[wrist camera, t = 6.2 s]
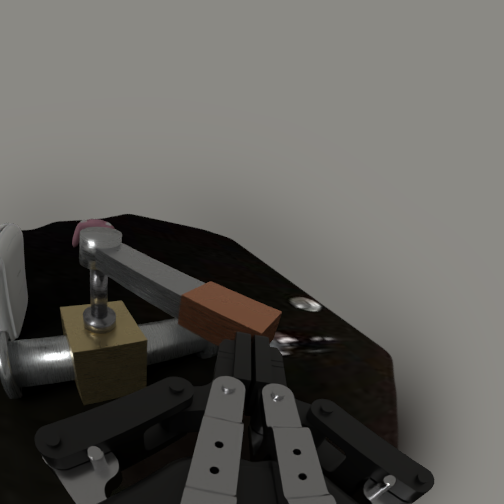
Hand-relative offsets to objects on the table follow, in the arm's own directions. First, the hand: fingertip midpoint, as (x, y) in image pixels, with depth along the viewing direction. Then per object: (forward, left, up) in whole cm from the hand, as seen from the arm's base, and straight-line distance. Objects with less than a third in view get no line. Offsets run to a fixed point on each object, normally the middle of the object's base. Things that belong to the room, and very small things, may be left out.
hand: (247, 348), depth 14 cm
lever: (-6, +5, -1) cm, 8 cm away
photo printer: (-28, +11, -14) cm, 33 cm away
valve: (-12, +8, -14) cm, 20 cm away
